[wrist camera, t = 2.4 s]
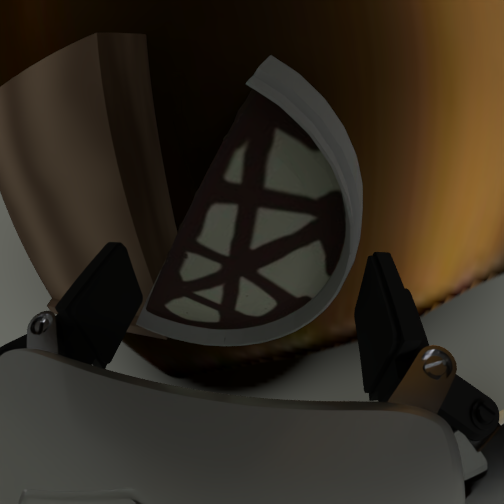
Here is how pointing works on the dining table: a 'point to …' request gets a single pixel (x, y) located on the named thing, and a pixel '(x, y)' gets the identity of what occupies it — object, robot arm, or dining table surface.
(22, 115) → the brown rectangular block
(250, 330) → the food container
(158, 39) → the dining table surface
